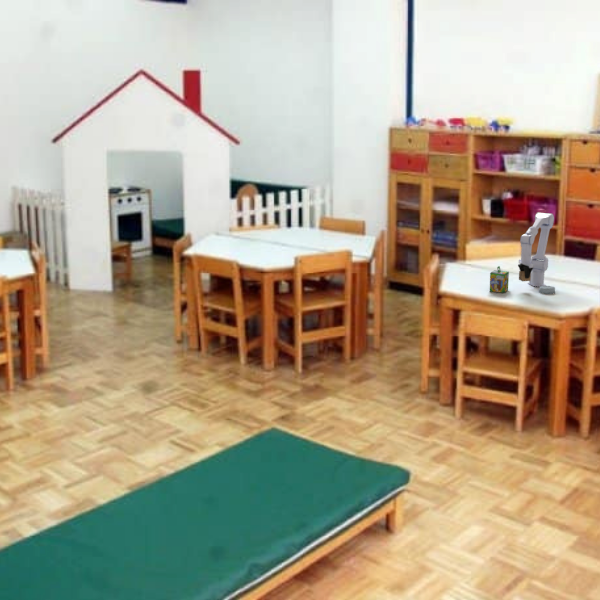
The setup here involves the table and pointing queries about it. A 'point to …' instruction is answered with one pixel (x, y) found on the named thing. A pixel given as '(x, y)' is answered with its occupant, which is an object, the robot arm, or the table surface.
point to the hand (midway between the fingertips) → (524, 277)
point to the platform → (547, 289)
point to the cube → (523, 276)
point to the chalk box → (499, 281)
